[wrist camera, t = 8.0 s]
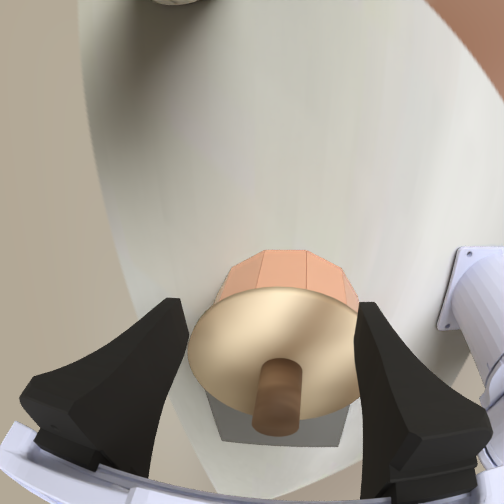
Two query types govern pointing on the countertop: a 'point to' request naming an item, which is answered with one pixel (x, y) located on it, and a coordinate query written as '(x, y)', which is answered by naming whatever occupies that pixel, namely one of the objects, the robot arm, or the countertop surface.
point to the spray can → (174, 2)
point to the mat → (308, 435)
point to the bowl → (289, 275)
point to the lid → (277, 356)
